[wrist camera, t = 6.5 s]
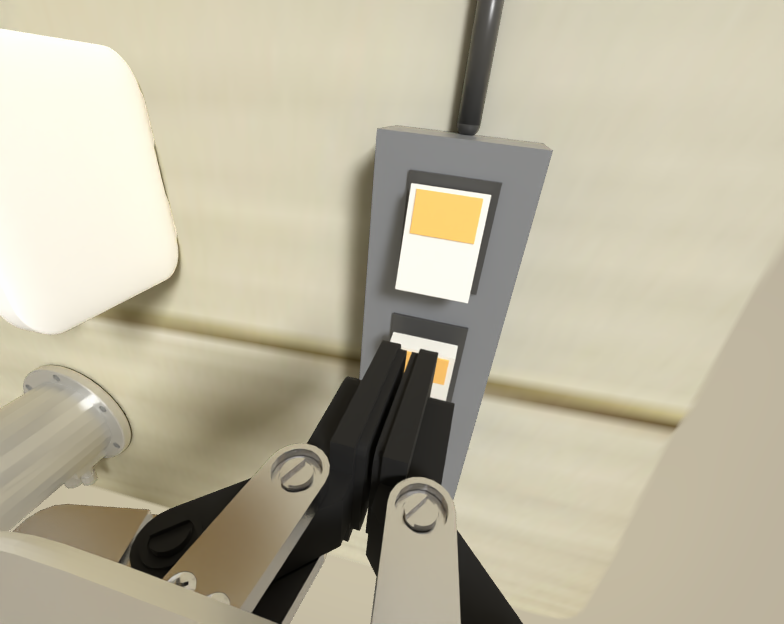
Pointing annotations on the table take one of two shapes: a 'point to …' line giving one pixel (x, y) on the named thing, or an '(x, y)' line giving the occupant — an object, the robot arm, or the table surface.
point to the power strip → (498, 246)
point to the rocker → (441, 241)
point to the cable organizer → (76, 185)
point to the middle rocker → (443, 361)
